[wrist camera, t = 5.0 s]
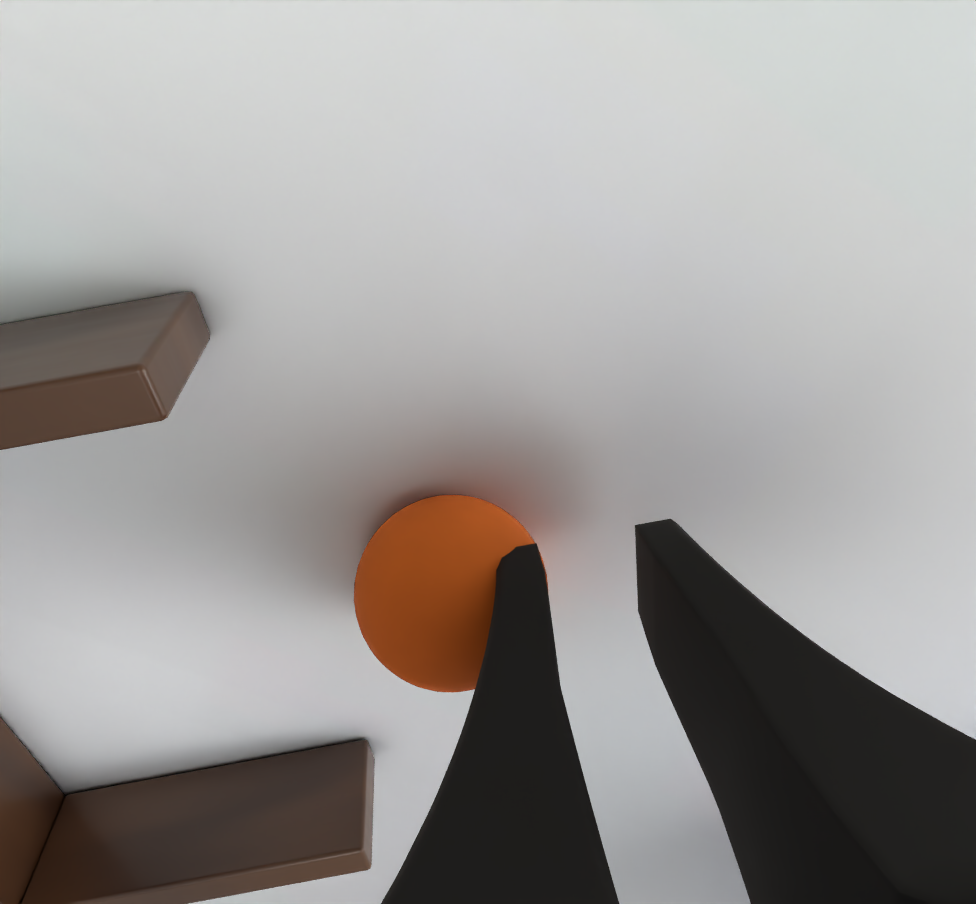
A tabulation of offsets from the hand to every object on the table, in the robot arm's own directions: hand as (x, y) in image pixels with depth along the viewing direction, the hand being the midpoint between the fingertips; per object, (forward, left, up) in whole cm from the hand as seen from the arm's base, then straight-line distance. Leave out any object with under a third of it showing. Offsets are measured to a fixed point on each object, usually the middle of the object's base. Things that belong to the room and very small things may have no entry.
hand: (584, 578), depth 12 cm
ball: (+2, 0, 0) cm, 2 cm away
